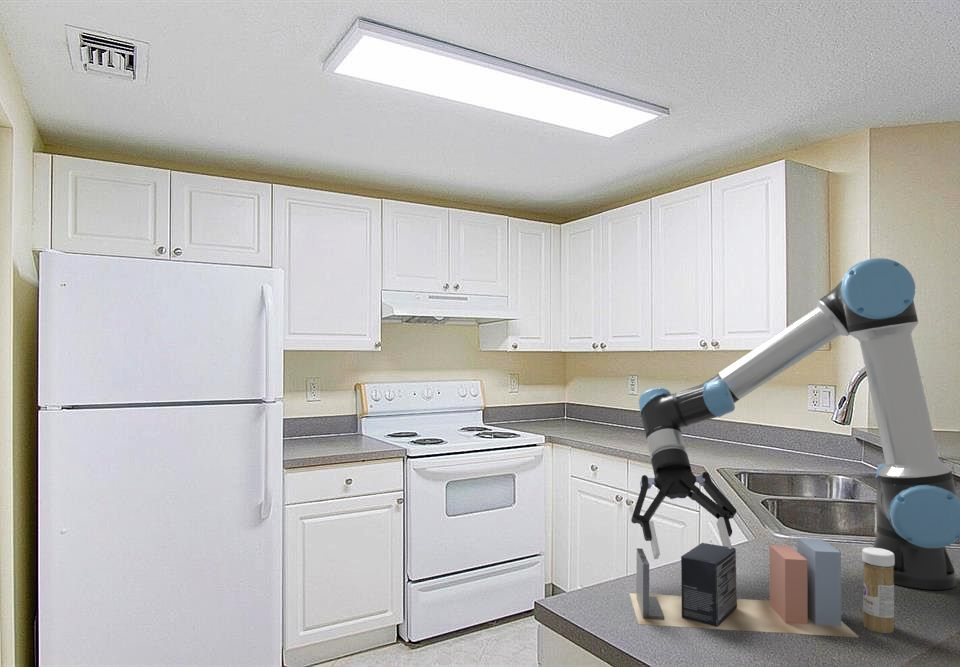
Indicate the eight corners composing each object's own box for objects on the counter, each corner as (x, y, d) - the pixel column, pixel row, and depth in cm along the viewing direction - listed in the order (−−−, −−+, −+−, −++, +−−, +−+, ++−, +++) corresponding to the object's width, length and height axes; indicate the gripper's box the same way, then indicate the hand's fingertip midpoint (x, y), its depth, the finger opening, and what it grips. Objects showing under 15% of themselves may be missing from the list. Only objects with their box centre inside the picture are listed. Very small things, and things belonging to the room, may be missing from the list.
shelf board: (822, 609, 116) (822, 603, 116) (859, 643, 102) (859, 637, 102) (629, 598, 120) (629, 593, 120) (638, 630, 106) (638, 624, 106)
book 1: (790, 605, 115) (790, 545, 115) (807, 624, 107) (807, 560, 107) (769, 604, 115) (769, 545, 116) (785, 623, 108) (785, 559, 108)
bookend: (656, 599, 117) (656, 549, 118) (664, 619, 108) (664, 565, 109) (636, 598, 118) (636, 548, 118) (642, 618, 109) (643, 564, 109)
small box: (700, 599, 118) (700, 540, 118) (738, 608, 114) (737, 547, 114) (678, 617, 109) (679, 554, 110) (718, 627, 105) (718, 562, 106)
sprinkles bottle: (856, 627, 109) (856, 546, 109) (884, 627, 109) (883, 546, 109) (873, 639, 104) (872, 554, 104) (901, 639, 104) (900, 555, 104)
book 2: (821, 607, 114) (821, 538, 115) (841, 626, 106) (840, 552, 107) (797, 606, 115) (797, 537, 115) (815, 624, 107) (815, 551, 107)
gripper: (724, 461, 139) (754, 558, 126) (607, 467, 140) (624, 565, 126) (732, 443, 134) (764, 543, 120) (611, 449, 134) (629, 550, 121)
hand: (693, 554), depth 123 cm, fingers open, 13 cm apart
